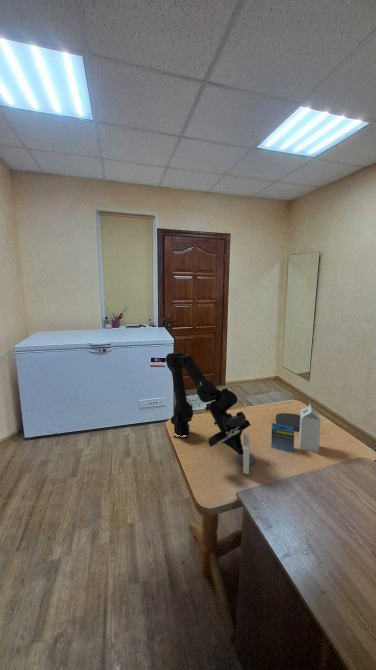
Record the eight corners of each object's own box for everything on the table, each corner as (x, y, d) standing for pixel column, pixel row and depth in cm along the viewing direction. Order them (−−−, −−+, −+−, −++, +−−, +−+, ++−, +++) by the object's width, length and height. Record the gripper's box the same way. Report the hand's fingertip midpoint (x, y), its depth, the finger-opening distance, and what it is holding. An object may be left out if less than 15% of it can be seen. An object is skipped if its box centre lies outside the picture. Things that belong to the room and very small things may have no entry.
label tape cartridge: (294, 450, 113) (295, 422, 111) (293, 455, 109) (294, 427, 107) (272, 445, 117) (273, 419, 115) (270, 450, 113) (271, 422, 111)
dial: (236, 453, 109) (237, 429, 107) (254, 455, 107) (255, 430, 106) (235, 475, 96) (236, 447, 94) (256, 478, 94) (256, 449, 93)
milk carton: (316, 445, 116) (318, 404, 113) (318, 454, 109) (321, 410, 107) (298, 442, 118) (300, 402, 116) (299, 451, 112) (301, 408, 109)
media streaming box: (303, 419, 141) (304, 414, 141) (309, 433, 127) (309, 427, 127) (274, 416, 144) (275, 411, 144) (277, 430, 130) (277, 424, 130)
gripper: (214, 414, 93) (238, 457, 87) (247, 400, 105) (271, 437, 98) (199, 426, 101) (220, 467, 94) (232, 412, 112) (252, 447, 106)
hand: (242, 454), depth 98 cm, fingers closed
